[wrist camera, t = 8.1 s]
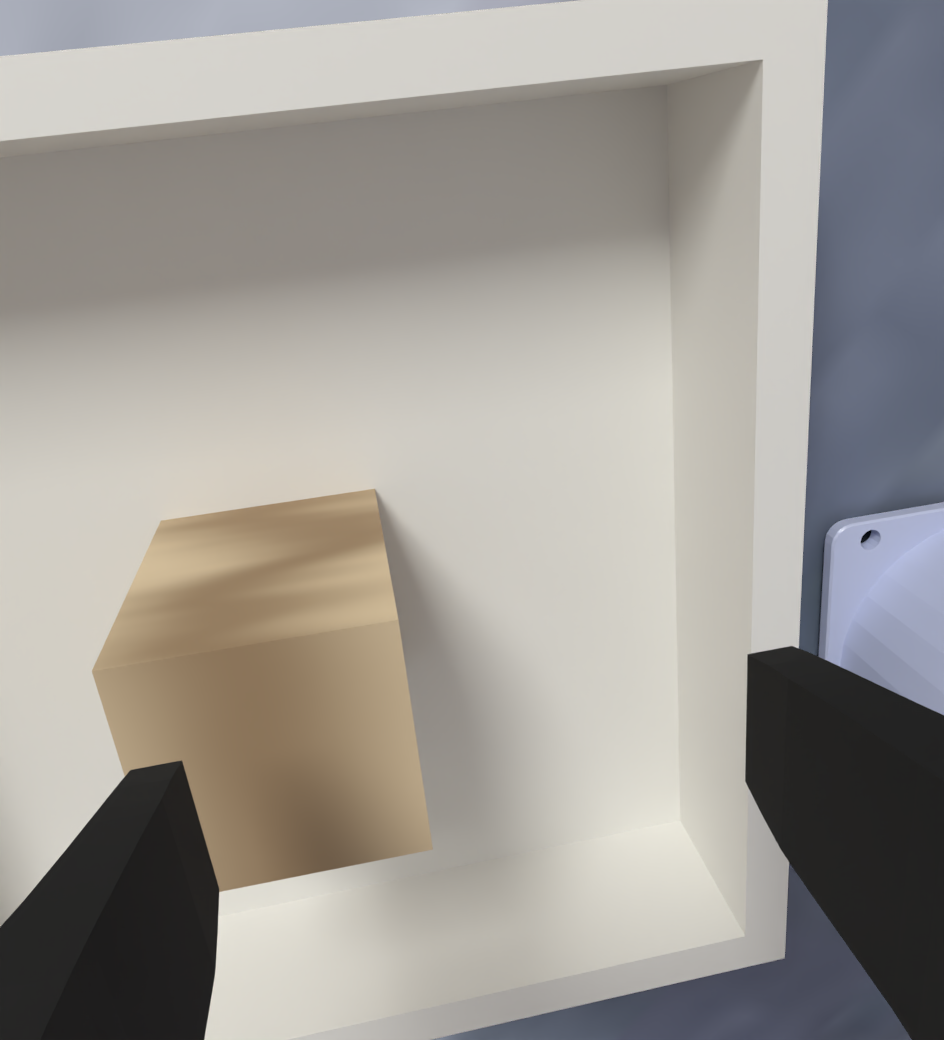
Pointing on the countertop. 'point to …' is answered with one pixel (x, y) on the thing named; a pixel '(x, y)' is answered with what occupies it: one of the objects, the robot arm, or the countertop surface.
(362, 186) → the bin
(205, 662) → the maple block
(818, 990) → the countertop surface
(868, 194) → the countertop surface
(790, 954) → the countertop surface
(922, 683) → the robot arm
